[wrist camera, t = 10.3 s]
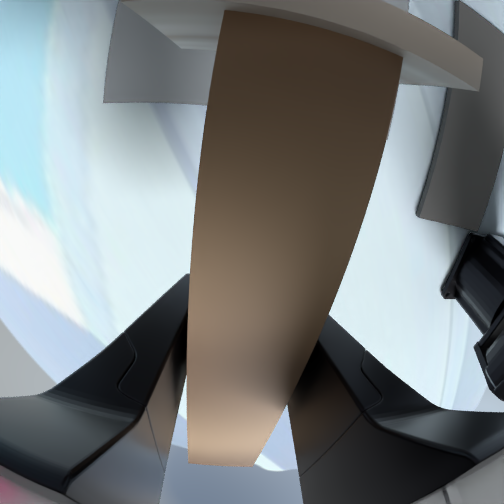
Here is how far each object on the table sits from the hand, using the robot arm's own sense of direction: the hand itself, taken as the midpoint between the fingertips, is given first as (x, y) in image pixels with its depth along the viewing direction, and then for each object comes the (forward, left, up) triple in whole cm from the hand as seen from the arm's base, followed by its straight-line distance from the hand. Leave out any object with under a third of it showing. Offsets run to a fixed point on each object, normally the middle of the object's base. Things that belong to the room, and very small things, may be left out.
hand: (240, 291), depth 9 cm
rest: (+9, -16, -10) cm, 21 cm away
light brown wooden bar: (0, 0, -1) cm, 1 cm away
